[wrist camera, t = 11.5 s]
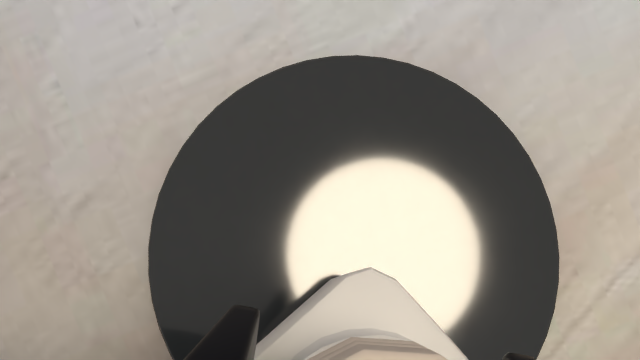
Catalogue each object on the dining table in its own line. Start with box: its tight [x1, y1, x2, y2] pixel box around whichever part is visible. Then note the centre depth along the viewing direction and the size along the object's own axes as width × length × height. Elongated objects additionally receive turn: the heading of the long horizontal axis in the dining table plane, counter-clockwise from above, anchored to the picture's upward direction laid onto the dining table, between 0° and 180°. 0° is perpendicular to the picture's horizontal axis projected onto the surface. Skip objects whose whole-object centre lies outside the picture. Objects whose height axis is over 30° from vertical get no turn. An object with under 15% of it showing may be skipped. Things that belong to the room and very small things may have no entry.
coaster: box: [148, 55, 559, 360], centre depth 18 cm, size 12×12×1 cm
